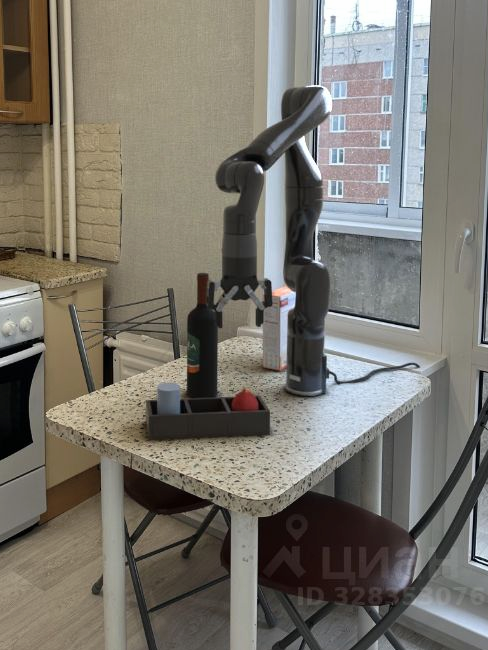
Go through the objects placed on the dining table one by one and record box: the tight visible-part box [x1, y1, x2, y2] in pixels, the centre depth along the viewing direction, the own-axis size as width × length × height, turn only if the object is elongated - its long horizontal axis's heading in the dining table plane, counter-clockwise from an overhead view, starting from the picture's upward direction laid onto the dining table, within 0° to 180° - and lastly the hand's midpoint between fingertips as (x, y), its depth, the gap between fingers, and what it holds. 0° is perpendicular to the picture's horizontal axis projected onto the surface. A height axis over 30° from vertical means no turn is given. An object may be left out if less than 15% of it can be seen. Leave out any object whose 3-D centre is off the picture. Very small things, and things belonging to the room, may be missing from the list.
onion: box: [232, 387, 259, 411], centre depth 146 cm, size 6×6×8 cm
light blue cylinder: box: [156, 382, 181, 415], centre depth 144 cm, size 5×5×9 cm
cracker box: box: [262, 285, 296, 372], centre depth 188 cm, size 14×6×21 cm, turn 144°
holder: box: [145, 395, 271, 441], centre depth 145 cm, size 26×9×5 cm, turn 97°
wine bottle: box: [186, 272, 219, 398], centre depth 164 cm, size 8×8×30 cm
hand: (239, 326), depth 147 cm, fingers open, 8 cm apart
